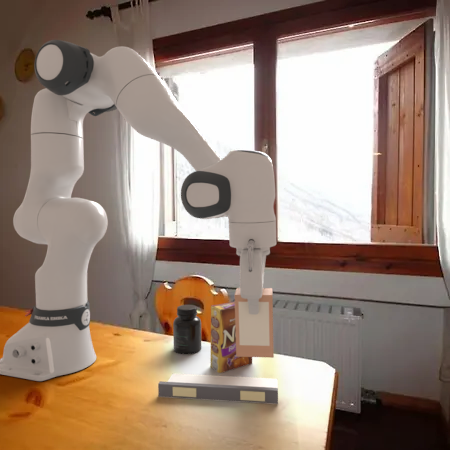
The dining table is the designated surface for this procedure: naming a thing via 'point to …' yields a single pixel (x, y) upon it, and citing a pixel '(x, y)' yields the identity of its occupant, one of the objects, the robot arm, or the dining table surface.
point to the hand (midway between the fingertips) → (254, 307)
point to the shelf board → (220, 388)
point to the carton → (254, 326)
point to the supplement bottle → (187, 330)
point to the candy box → (224, 339)
